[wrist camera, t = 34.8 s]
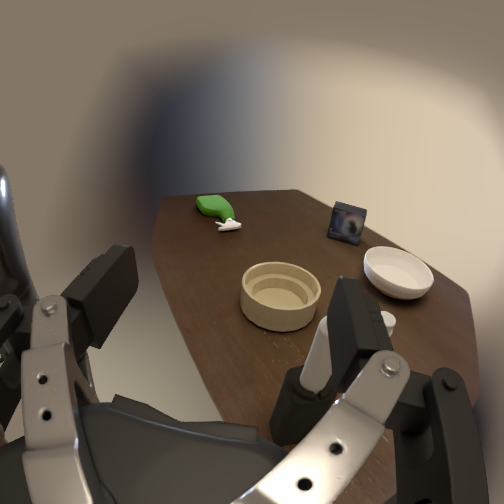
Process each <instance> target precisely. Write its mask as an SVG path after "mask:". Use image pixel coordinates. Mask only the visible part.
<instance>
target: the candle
mask: <svg viewBox="0 0 504 504" xmlns="http://www.w3.org/2000/svg"><path fill="white" fill-rule="evenodd" d="M331 374H332V367H331V357H330V347H329V338H328V330H327V316H326V317H324V318H323V319H322V320H321V321H320V323H319V325H318V328H317V331H316V334H315V337H314V340H313V343H312V346H311V348H310V351H309V354H308V357H307V360H306V362H305V365H302V366H300V367H293V368H290V369H289V370H288V371H287V372H286V375H285V378H284V381H283V384H282V388H281V391H280V394H279V397H278V400H277V403H276V406H275V408H274V411H273V414H272V417H271V420H270V427H271V432H272V437H273V441H274V443H275V444H276V445H278V446H284V445H286V444H294V443H300V442H301V441H302V440H303V439H304V438H305V437H306V435H307V434H308V433H309V432H310V431H311V430H312V429H313V428H314V427H315V426H316V424H317V423H318V422H319V421H320V420H321V419H322V418H323V417H324V415H325V414H326V412H327V411H328V409H329V408H330V406H331V404H332V403H333V401H334V400H335V398H336V396H337V393H334V390H333V378H332V375H331Z"/></svg>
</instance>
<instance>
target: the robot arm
mask: <svg viewBox="0 0 504 504" xmlns="http://www.w3.org/2000/svg"><path fill="white" fill-rule="evenodd" d="M138 281H139V280H138V273H137V266H136V260H135V253H134V249H133V247H132V246H125V245H119V244H115V245H113V246H112V247H111V248H110V249H109V250H108V251H107V252H106V253H105V254H102V255H100V256H99V257H97V258H95V259H93V260H92V261H91V262H90V263H89V264H88V265H87V266H86V268H85V269H84V270H83V271H82V272H81V273H80V275H78V276H77V277H76V278H75V279H74V280H73V281H72V282H71V283H70V285H69V286H68V287H67V288H66V289H65V290H64V291H63V292H62V294H61V295H60V296H59V295H49V296H46V297H44V298H42V299H41V300H39V297H38V295H37V293H36V290H35V287H34V285H33V282H32V279H31V277H30V274H29V271H28V268H27V264H26V260H25V256H24V251H23V247H22V243H21V240H20V236H19V232H18V227H17V222H16V216H15V210H14V203H13V197H12V190H11V185H10V181H9V178H8V175H7V172H6V170H5V168H4V167H3V166H2V165H0V354H1V357H2V358H0V363H2V362H3V361H4V360H5V361H4V363H3V364H2V366H1V367H0V504H332V503H333V502H334V501H335V499H336V498H337V497H338V496H339V495H340V493H341V492H342V491H343V490H344V488H345V487H346V486H347V485H348V483H349V482H350V481H351V479H352V478H353V477H354V475H355V474H356V473H357V471H358V470H359V469H360V467H361V466H362V464H363V463H364V462H365V460H366V459H367V457H368V456H369V454H370V453H371V451H372V450H373V448H374V447H375V445H376V444H377V442H378V440H379V439H380V437H381V436H382V434H383V432H384V430H385V428H388V429H391V430H393V435H394V446H395V460H396V480H397V504H489V496H488V485H487V478H486V471H485V465H484V459H483V453H482V448H481V443H480V439H479V434H478V430H477V426H476V422H475V418H474V414H473V410H472V407H471V403H470V400H469V397H468V393H467V390H466V387H465V384H464V381H463V379H462V378H461V376H460V375H459V374H458V373H457V372H455V371H454V370H452V369H450V368H439V369H437V370H436V371H435V372H434V373H433V375H432V376H428V375H424V374H420V373H417V372H414V371H411V370H410V368H409V365H408V363H407V361H406V360H405V359H404V358H403V357H402V356H401V355H399V354H397V353H395V352H394V351H393V347H392V344H391V341H390V338H389V334H388V331H387V328H386V325H385V323H384V319H383V316H382V315H381V310H380V307H379V304H378V302H377V301H376V300H375V299H374V297H373V296H372V295H371V294H370V293H364V292H363V288H362V285H361V282H360V280H359V279H357V278H349V277H341V276H340V277H339V278H338V280H337V283H336V286H335V289H334V292H333V295H332V299H331V302H330V305H329V308H328V312H327V330H328V338H329V347H330V357H331V367H332V378H333V390H334V393H344V395H343V396H342V397H340V398H339V399H338V400H337V401H336V402H335V404H334V405H333V406H332V407H331V408H330V410H329V411H328V412H327V413H326V414H325V415H324V417H323V418H322V419H321V420H320V421H319V422H318V423H317V424H316V426H315V427H314V428H313V429H312V430H311V431H310V432H309V433H308V434H307V435H306V437H305V438H304V439H303V440H302V441H301V442H300V443H299V444H298V445H297V446H296V447H295V448H294V449H293V450H292V451H291V452H290V453H289V454H288V453H287V452H286V451H285V450H284V449H282V448H281V447H280V446H278V445H276V444H275V443H273V442H271V441H269V440H267V439H265V438H263V437H260V436H257V433H258V427H257V426H249V425H241V424H235V423H228V422H222V421H212V422H181V421H178V420H175V419H173V418H172V417H170V416H168V415H166V414H164V413H162V412H160V411H158V410H157V409H155V408H153V407H151V406H149V405H148V404H145V403H142V402H138V401H135V400H132V399H129V398H126V397H123V396H120V395H117V394H115V397H114V398H113V401H112V403H111V402H106V403H103V402H102V403H100V402H99V400H98V397H97V395H96V391H95V387H94V382H93V378H92V373H91V368H90V363H89V357H88V353H87V351H86V350H87V348H88V347H89V346H92V347H95V348H98V349H101V347H102V345H103V343H104V342H105V340H106V338H107V337H108V335H109V334H110V332H111V330H112V329H113V327H114V326H115V324H116V323H117V321H118V319H119V318H120V316H121V315H122V313H123V312H124V310H125V308H126V307H127V305H128V304H129V302H130V301H131V299H132V298H133V296H134V295H135V293H136V291H137V288H138ZM21 398H22V414H23V424H24V433H25V436H22V437H20V438H18V439H16V440H14V441H12V442H10V443H8V442H7V440H6V439H4V438H5V437H4V432H5V430H6V428H7V426H8V424H9V421H10V420H11V418H12V415H13V413H14V411H15V409H16V407H17V405H18V403H19V401H20V399H21Z"/></svg>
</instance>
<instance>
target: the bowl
mask: <svg viewBox="0 0 504 504" xmlns="http://www.w3.org/2000/svg"><path fill="white" fill-rule="evenodd" d="M364 271H365V274H366V276H367V277H368V279H369V280H370V282H371V283H372V284H373V285H374V286H375V287H376V288H377V289H378V290H380V291H381V292H382V293H384V294H385V295H387V296H390V297H392V298H397V299H403V300H409V299H415V298H419V297H421V296H423V295H424V294H425V293H426V292H427V291H428V290H429V289H430V287H431V285H432V284H433V274H432V272H431V271H430V269H429V268H428V267H427V265H426V264H424V263H423V262H422V261H421V260H419V259H418V258H417V257H415V256H413V255H411V254H409V253H407V252H405V251H402V250H399V249H396V248H391V247H383V246H381V247H373V248H371V249H369V250H368V251H367V252H366V254H365V258H364Z"/></svg>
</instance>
